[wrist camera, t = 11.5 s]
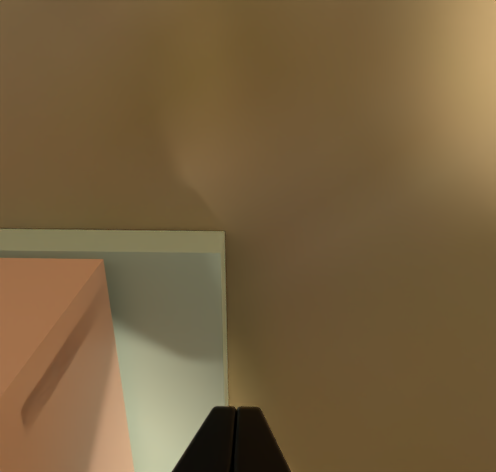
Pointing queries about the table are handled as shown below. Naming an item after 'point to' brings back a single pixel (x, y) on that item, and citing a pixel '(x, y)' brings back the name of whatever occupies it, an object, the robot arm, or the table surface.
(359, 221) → the table surface
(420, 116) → the table surface
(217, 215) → the table surface
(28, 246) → the board
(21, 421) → the cover
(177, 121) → the table surface
